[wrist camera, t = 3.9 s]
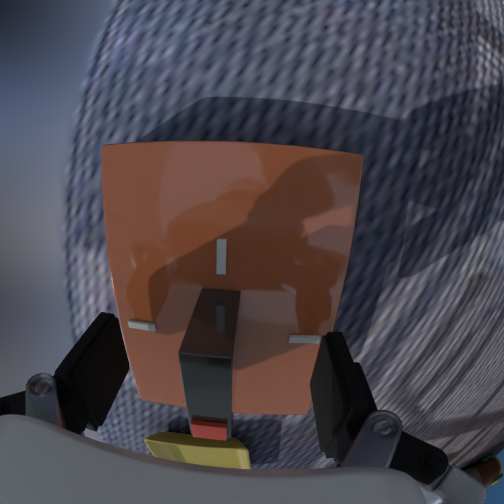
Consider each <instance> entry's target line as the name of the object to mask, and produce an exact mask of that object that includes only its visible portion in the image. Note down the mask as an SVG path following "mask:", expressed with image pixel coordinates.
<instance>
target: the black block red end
mask: <svg viewBox="0 0 504 504" xmlns="http://www.w3.org/2000/svg"><path fill="white" fill-rule="evenodd" d="M240 301H241V292H240V291H231V290H217V289H205V288H202V289H201V292H200V294H199V297H198V299H197V302H196V305H195V307H194V310H193V313H192V315H191V318H190V321H189V324H188V326H187V329H186V332H185V334H184V337H183V340H182V343H181V346H180V348H179V351H178V357H179V364H180V371H181V378H182V385H183V391H184V397H185V403H186V409H187V415H188V420H189V425H190V431H191V434H193V437H198V438H206V439H214V440H225V441H227V438H231V436H232V425H233V414H234V403H235V392H236V381H237V368H238V345H239V323H240Z"/></svg>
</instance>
